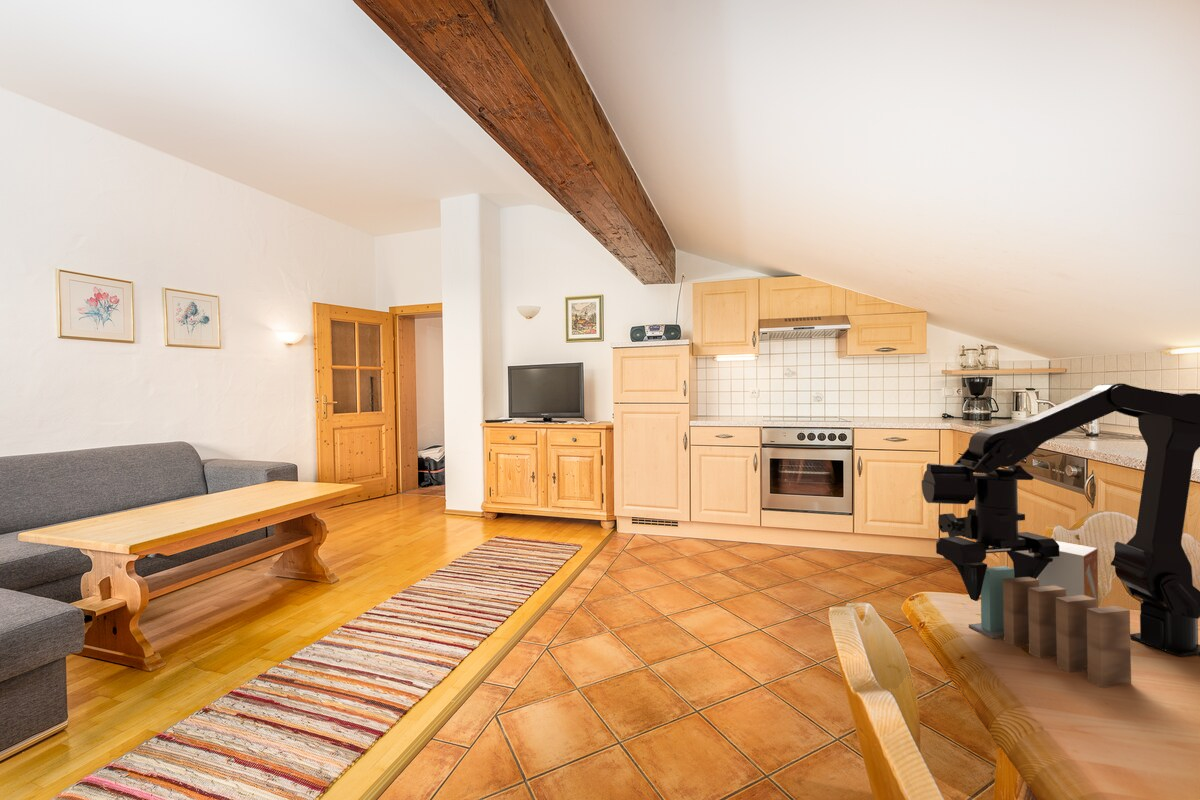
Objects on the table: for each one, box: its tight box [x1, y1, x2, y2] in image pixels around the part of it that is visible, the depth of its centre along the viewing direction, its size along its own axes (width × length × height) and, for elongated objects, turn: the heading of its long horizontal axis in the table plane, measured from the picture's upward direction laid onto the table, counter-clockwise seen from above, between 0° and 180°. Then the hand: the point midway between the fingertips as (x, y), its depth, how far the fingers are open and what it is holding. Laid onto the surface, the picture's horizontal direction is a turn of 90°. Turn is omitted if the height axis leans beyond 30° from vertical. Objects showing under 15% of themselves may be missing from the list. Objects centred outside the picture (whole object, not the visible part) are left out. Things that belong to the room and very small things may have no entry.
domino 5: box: [1087, 605, 1132, 688], centre depth 69 cm, size 5×2×10 cm, turn 100°
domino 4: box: [1056, 595, 1096, 673], centre depth 73 cm, size 5×2×10 cm, turn 100°
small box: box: [1037, 540, 1099, 608], centre depth 88 cm, size 8×6×13 cm
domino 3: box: [1028, 585, 1066, 659], centre depth 77 cm, size 5×2×10 cm, turn 100°
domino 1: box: [980, 565, 1014, 632], centre depth 85 cm, size 5×2×10 cm, turn 101°
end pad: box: [968, 622, 1004, 639], centre depth 85 cm, size 7×4×1 cm, turn 100°
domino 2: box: [1003, 577, 1039, 646], centre depth 81 cm, size 5×2×10 cm, turn 100°
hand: (997, 597), depth 85 cm, fingers open, 9 cm apart
